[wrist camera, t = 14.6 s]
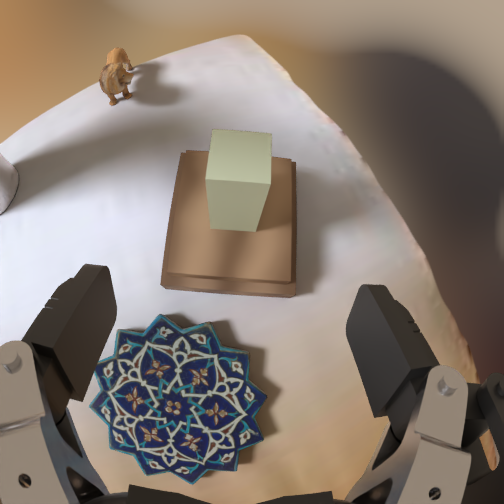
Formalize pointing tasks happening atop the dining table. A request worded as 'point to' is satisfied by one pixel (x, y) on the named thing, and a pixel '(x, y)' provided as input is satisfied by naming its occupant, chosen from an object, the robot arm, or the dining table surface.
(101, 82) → the lion figurine
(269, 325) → the dining table surface
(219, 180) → the sage block
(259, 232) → the walnut plinth
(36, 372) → the robot arm
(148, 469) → the decorative tile
